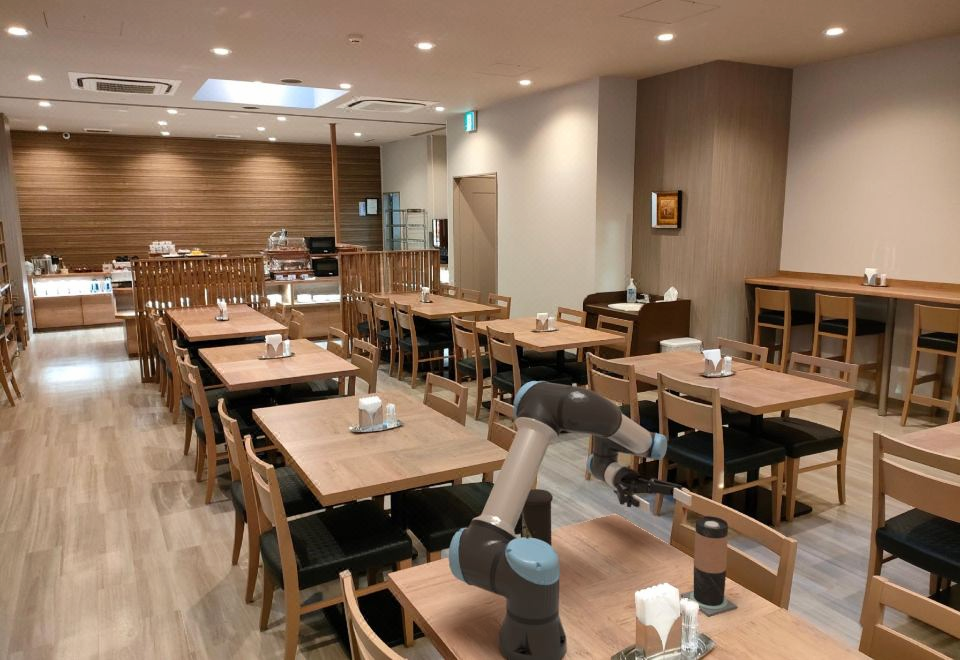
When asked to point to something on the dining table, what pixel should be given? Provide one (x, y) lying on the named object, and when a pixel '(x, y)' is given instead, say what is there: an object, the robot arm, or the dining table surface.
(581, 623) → the dining table surface
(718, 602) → the travel mug
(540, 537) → the container
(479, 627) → the dining table surface
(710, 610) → the coaster
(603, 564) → the dining table surface
